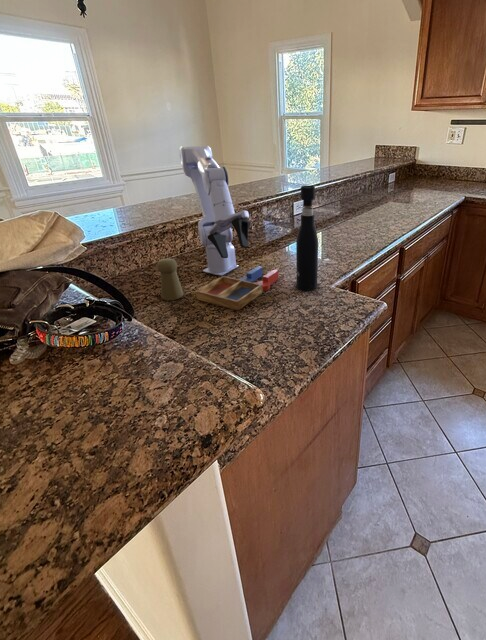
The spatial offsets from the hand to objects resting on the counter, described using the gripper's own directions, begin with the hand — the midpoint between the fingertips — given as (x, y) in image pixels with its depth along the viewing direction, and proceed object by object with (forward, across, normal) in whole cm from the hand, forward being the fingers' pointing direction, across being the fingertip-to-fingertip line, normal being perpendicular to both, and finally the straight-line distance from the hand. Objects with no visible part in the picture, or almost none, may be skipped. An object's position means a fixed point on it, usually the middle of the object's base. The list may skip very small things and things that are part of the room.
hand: (234, 252), depth 96 cm
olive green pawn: (+5, -22, -5) cm, 23 cm away
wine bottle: (+12, +7, +21) cm, 25 cm away
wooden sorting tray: (+10, -9, +4) cm, 14 cm away
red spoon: (+8, -3, +15) cm, 17 cm away
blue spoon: (+5, -8, +14) cm, 17 cm away
